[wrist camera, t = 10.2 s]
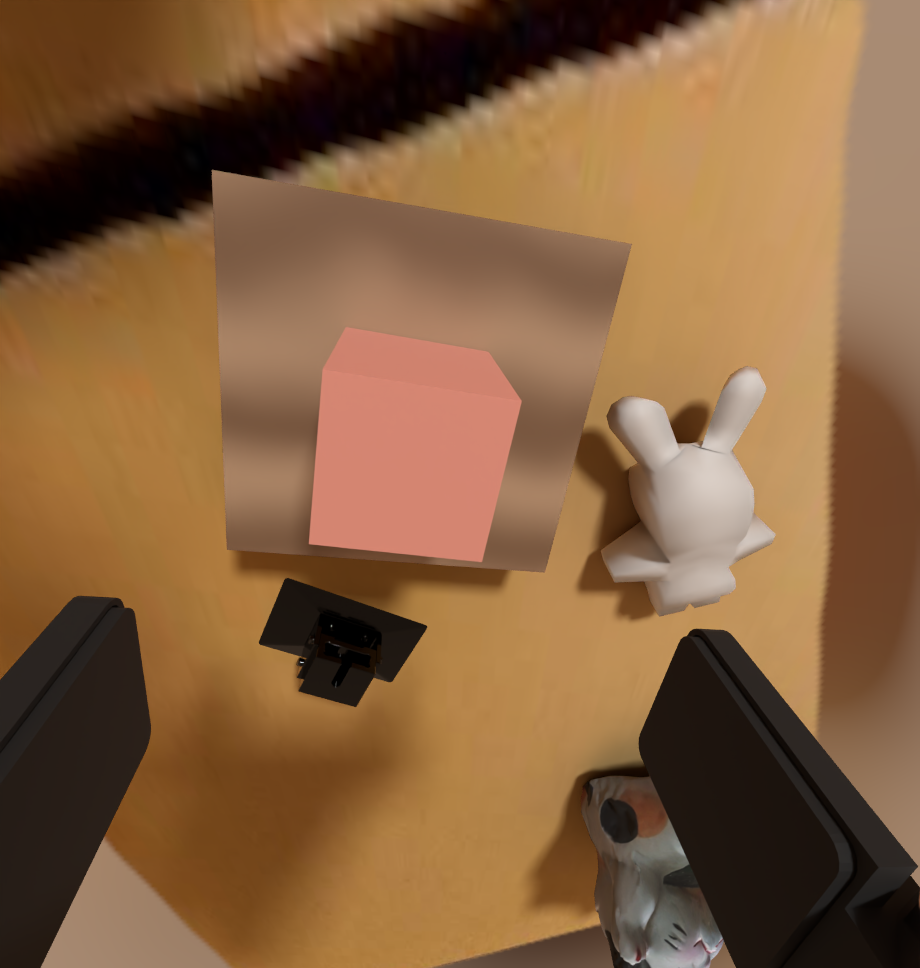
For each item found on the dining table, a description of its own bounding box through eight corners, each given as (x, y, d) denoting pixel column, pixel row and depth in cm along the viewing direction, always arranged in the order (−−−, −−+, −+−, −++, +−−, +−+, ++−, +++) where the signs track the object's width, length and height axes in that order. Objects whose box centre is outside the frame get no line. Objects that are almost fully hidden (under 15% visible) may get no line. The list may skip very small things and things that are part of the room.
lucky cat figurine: (755, 785, 45) (807, 1010, 37) (620, 786, 51) (639, 981, 43) (709, 751, 36) (765, 1043, 28) (549, 757, 42) (556, 999, 34)
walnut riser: (248, 181, 23) (211, 169, 19) (591, 241, 26) (631, 244, 21) (253, 501, 30) (226, 549, 25) (525, 524, 32) (544, 572, 28)
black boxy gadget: (452, 619, 35) (459, 671, 31) (406, 693, 38) (406, 750, 34) (269, 555, 32) (249, 604, 27) (231, 641, 34) (208, 698, 30)
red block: (345, 326, 21) (322, 369, 15) (488, 351, 22) (521, 401, 16) (333, 460, 24) (308, 544, 18) (462, 477, 25) (481, 562, 19)
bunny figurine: (625, 647, 32) (612, 432, 23) (596, 588, 36) (577, 388, 28) (779, 610, 32) (821, 380, 23) (732, 554, 36) (753, 344, 28)
